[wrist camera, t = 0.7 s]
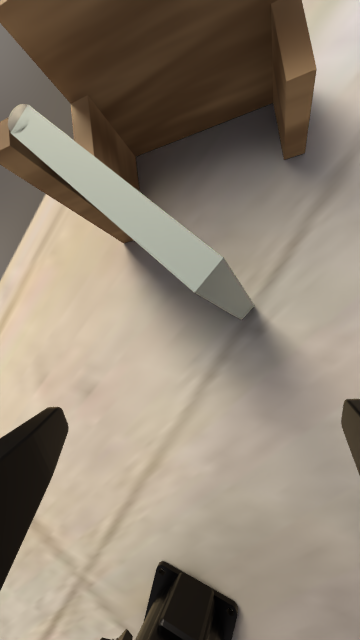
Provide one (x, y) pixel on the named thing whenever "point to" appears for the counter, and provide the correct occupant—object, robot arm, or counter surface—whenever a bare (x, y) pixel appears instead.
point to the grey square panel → (133, 213)
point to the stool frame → (158, 77)
